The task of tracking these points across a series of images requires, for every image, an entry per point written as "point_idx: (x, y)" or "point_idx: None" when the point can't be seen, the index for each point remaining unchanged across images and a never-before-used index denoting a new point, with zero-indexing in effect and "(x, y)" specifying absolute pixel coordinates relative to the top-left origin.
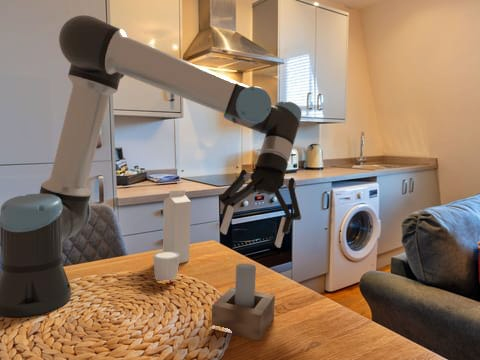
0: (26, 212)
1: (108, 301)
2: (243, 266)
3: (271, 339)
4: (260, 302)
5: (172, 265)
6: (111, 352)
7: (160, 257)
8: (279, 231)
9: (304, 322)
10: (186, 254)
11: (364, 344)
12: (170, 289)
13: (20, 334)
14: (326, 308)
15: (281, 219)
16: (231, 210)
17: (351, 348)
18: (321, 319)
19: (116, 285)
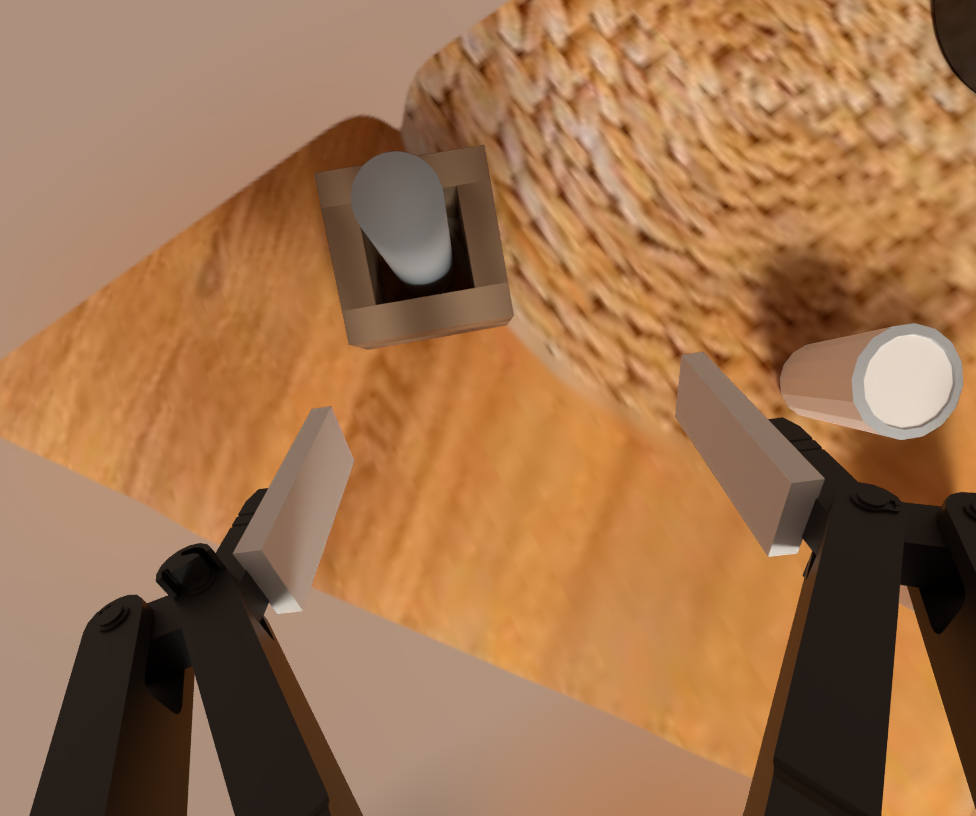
0: None
1: (849, 139)
2: (409, 196)
3: (316, 233)
4: (362, 261)
5: (831, 365)
6: None
7: (905, 334)
8: (295, 458)
9: (280, 378)
10: (902, 586)
11: (96, 358)
12: (751, 327)
13: None
14: None
15: (271, 528)
16: (763, 495)
17: (119, 317)
18: (246, 426)
19: (921, 243)
